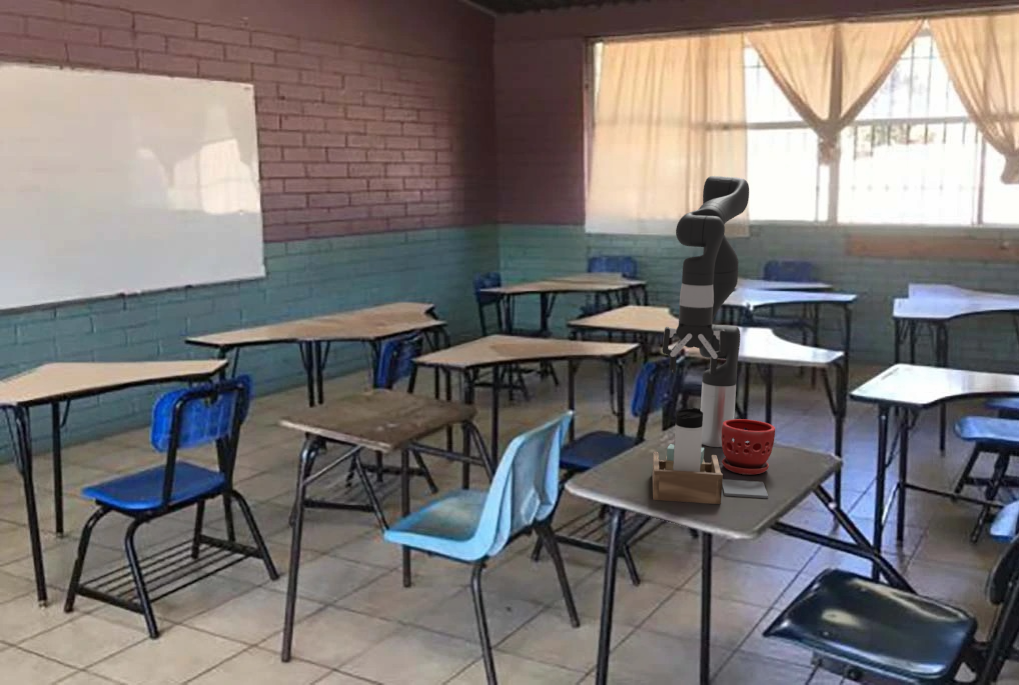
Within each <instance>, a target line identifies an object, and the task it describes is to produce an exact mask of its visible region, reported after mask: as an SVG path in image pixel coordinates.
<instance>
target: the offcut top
mask: <svg viewBox="0 0 1019 685" xmlns="http://www.w3.org/2000/svg"><path fill="white" fill-rule="evenodd" d="M666 457H667V460H670V461H674V443H673V444H672V443H669V445H668V446H667V448H666ZM704 458H705V447H701V462H700V464H702V462H703V460H704V461H705V459H704Z"/></svg>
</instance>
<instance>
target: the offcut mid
mask: <svg viewBox="0 0 1019 685" xmlns="http://www.w3.org/2000/svg"><path fill="white" fill-rule="evenodd" d="M665 460H666V463H665V470H673V461H670V460H667V456H665ZM705 463H706V462H705V459H704V460H703V462H702V464H700V472H705Z"/></svg>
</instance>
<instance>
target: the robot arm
mask: <svg viewBox="0 0 1019 685" xmlns="http://www.w3.org/2000/svg"><path fill="white" fill-rule="evenodd" d="M749 198H750V187H749V183H748V181H747V180H746V179H744V178H742V177H737V176H720V175H718V176H716V175H714V176H713V175H711V176H709V177H707V178H706V179H705V182H704V185H703V190H702V205H701V206H700V207H699V208H698V209H696V210H695V209H694V210H692V211H690V212H688V213H685V214H683V216H682V217H681V218H680V219H679V220H678V223H677V224H676V228H675V236H676V238H677V241H678V242H679V243H680V244H681V245H682V246H685V247H691V248H692V247H694V248H697V247H698V248H703V250H702V253H703V254H701V255H698V256H692V257H687V258H685V259H684V260H683V262H682V271H681V272H682V275H681V286H680V287H681V288H680V292H679V309H678V310H679V312H678V325H677V327H676V328H673V327H669V326H665V327H664V332H663V340H662V348H661V349H662V350H661V352H662V353H663V354H664V355H667V356H669V370H670V371H672V372H671V373H672V374H676V372H677V355H678V353H679V352H680V351H681V350H682V349H683V348H684V347H686V348H688V349H689V348H691V349H692V348H697V349H698V350H699V353H700V356H701V357H703V358H706V359H707V358H708V359H709V361H710V362H709V369H706V370H704V371H703V373H702V375H701V376H702V379H701V398H700V411H702V412H703V422H702V423H703V427H702V445H704V446H707V447H711V448H722V440H721V436H722V424H723V422H724V421H726V420H732V419H735V411H736V410H735V409H736V392H737V379H738V378H737V377H738V374H737V373H738V362H739V354H740V346H741V331H740V328H739V327H738V326H736V325H726V324H723V325H722V324H713V321H714V319H715V317H716V314H717V312H718V311H719V310H720V308H721V306H723V304H724V303H725V302H726V301H727V300H728V298H729V297H730V296H731V295H732V293H733V292H734V290H735V289H736V287H737V285H738V279H739V257H738V255H737V253H736V250H735V249H734V247H733V245H731V243H730V241H729V240H728V238H727V237H726V235H725V233H726V228H725V224H726V223H727V222H729V221H731V220H732V219H734V218H735V217H738V216H739V215H741V214H743V213H744V212H745V210H746V209H747V207H748V203H749ZM674 334H675V335H677V338H678V339H679V340H678V342H676V343H675V345H674V346H673V347H672V348H669V346H670V338H671V339H672V338H673V336H674ZM718 359H719V360H720V359H721V360H726V361H725V362H724V363H723V364H721V365H718ZM733 440H734V439H732V441H733ZM733 442H734V441H733Z"/></svg>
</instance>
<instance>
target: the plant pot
mask: <svg viewBox="0 0 1019 685" xmlns="http://www.w3.org/2000/svg"><path fill="white" fill-rule="evenodd" d="M775 437H776V427H775V426H774V425H773V424H771V423H768V422H764V421H760V420H754V419H746V418H745V419H744V418H743V419H741V418H739V419H737V418H734V419H732V420H726V421H724V422H723V424H722V436H721V440H722V447H721V449H722V452H723V454H724V458H723V459H722V460H721V464H722V465H723V467H724V468H725V469H726V470H728V471H729V472H732V473H736V474H739V475H741V474H742V475H750V476H751V475H753V476H754V475H759V474H762V473H765V472H766V471H768V470H769V466H770V465H769V463H768V460H769V458H770V457H771V454H772V452H773V448H774V444H775V443H774V442H775ZM732 439H733V440H734V441H732Z"/></svg>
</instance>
